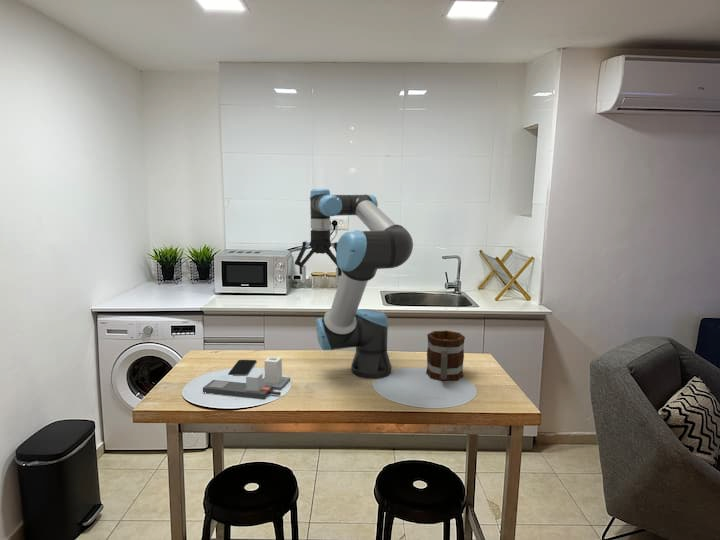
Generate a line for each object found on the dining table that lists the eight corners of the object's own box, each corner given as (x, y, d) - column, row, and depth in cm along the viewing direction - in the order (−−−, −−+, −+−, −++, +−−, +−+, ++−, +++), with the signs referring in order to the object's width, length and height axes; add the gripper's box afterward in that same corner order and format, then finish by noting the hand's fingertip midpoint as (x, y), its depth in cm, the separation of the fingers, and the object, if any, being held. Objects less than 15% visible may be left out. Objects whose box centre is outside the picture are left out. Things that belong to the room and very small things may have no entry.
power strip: (284, 391, 168) (284, 385, 167) (276, 400, 161) (276, 394, 161) (213, 384, 173) (213, 378, 173) (203, 392, 166) (202, 386, 166)
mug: (427, 366, 192) (428, 329, 189) (463, 369, 189) (464, 331, 187) (423, 386, 173) (424, 345, 170) (463, 390, 170) (464, 348, 168)
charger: (282, 379, 176) (281, 356, 174) (277, 384, 171) (276, 361, 170) (270, 378, 177) (269, 355, 175) (265, 383, 172) (264, 359, 171)
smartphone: (227, 374, 182) (238, 359, 196) (227, 376, 182) (238, 361, 197) (247, 374, 181) (257, 360, 196) (247, 377, 181) (257, 362, 196)
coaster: (290, 380, 178) (290, 377, 178) (281, 390, 169) (280, 387, 169) (266, 377, 180) (266, 375, 179) (256, 387, 171) (256, 385, 171)
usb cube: (262, 386, 167) (262, 373, 167) (257, 390, 164) (257, 377, 163) (251, 384, 168) (251, 372, 167) (246, 389, 164) (246, 376, 164)
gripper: (353, 229, 194) (353, 282, 197) (292, 227, 198) (293, 280, 202) (350, 231, 187) (349, 286, 190) (286, 229, 191) (287, 283, 194)
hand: (320, 283), depth 196 cm, fingers open, 13 cm apart
